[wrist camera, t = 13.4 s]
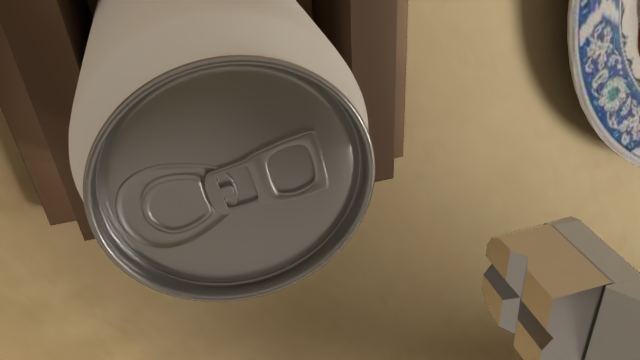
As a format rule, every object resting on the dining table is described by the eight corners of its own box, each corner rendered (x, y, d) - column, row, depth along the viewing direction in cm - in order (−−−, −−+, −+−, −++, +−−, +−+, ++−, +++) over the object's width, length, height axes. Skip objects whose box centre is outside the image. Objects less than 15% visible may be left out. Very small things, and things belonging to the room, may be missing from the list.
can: (65, -50, 18) (-23, 100, 8) (253, -102, 19) (371, -18, 9) (141, 118, 22) (142, 355, 12) (296, 70, 23) (412, 259, 13)
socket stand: (402, -269, 18) (500, -303, 13) (393, 144, 27) (450, 217, 22) (-133, -247, 15) (-265, -279, 10) (54, 209, 24) (31, 310, 19)
